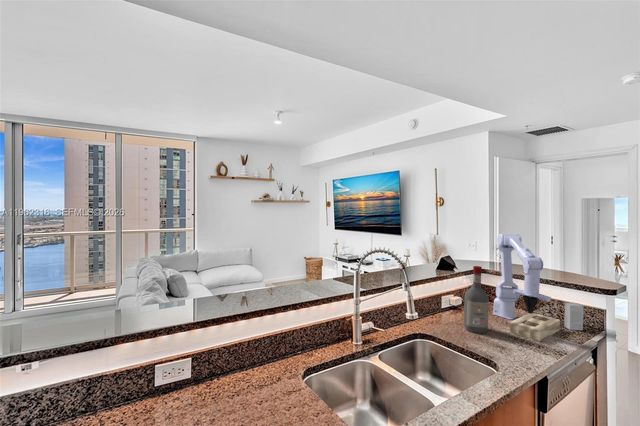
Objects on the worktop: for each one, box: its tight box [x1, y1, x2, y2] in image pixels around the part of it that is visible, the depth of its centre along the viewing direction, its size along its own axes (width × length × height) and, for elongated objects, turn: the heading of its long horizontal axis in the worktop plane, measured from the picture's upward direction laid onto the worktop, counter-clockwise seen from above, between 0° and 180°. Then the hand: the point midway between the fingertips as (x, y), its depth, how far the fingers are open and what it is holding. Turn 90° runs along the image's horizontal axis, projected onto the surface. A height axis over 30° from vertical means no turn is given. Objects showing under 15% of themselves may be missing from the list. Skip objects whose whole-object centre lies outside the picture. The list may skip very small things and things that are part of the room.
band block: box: [509, 312, 561, 343], centre depth 148 cm, size 12×24×5 cm, turn 126°
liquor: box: [463, 265, 490, 334], centre depth 149 cm, size 9×9×30 cm
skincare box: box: [563, 302, 584, 331], centre depth 152 cm, size 6×4×12 cm
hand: (530, 312), depth 144 cm, fingers closed
